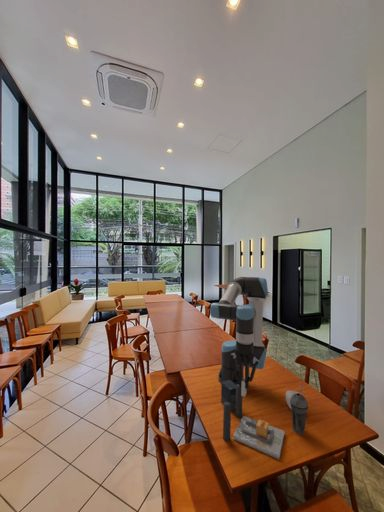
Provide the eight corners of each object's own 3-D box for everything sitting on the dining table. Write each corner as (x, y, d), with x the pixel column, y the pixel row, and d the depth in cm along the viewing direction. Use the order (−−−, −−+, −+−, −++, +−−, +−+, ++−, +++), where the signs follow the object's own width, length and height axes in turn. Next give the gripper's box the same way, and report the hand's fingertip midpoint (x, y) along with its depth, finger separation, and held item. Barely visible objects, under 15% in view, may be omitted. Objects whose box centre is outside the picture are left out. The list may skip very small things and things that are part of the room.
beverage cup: (286, 424, 101) (287, 380, 101) (301, 423, 102) (302, 379, 102) (295, 437, 94) (295, 389, 94) (311, 436, 94) (312, 389, 95)
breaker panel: (233, 439, 92) (233, 431, 92) (243, 418, 104) (243, 412, 104) (279, 459, 83) (279, 451, 83) (284, 434, 95) (284, 427, 95)
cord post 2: (234, 416, 106) (235, 386, 106) (236, 412, 108) (237, 383, 108) (240, 418, 104) (241, 388, 104) (242, 414, 107) (243, 385, 107)
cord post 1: (221, 439, 92) (222, 404, 92) (224, 434, 94) (225, 401, 95) (228, 442, 90) (229, 407, 91) (231, 437, 93) (232, 403, 93)
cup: (291, 414, 108) (291, 400, 108) (280, 401, 118) (280, 388, 118) (305, 412, 109) (306, 399, 109) (293, 400, 119) (293, 387, 119)
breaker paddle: (256, 434, 92) (256, 423, 92) (258, 428, 96) (258, 417, 96) (266, 438, 90) (266, 427, 90) (268, 432, 94) (268, 420, 94)
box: (238, 408, 111) (239, 386, 112) (229, 411, 109) (230, 389, 109) (229, 399, 118) (230, 379, 119) (220, 402, 116) (221, 381, 116)
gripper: (227, 341, 98) (226, 394, 98) (257, 347, 91) (256, 404, 91) (233, 335, 104) (232, 385, 104) (261, 341, 98) (260, 394, 98)
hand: (243, 394), depth 98 cm, fingers closed
